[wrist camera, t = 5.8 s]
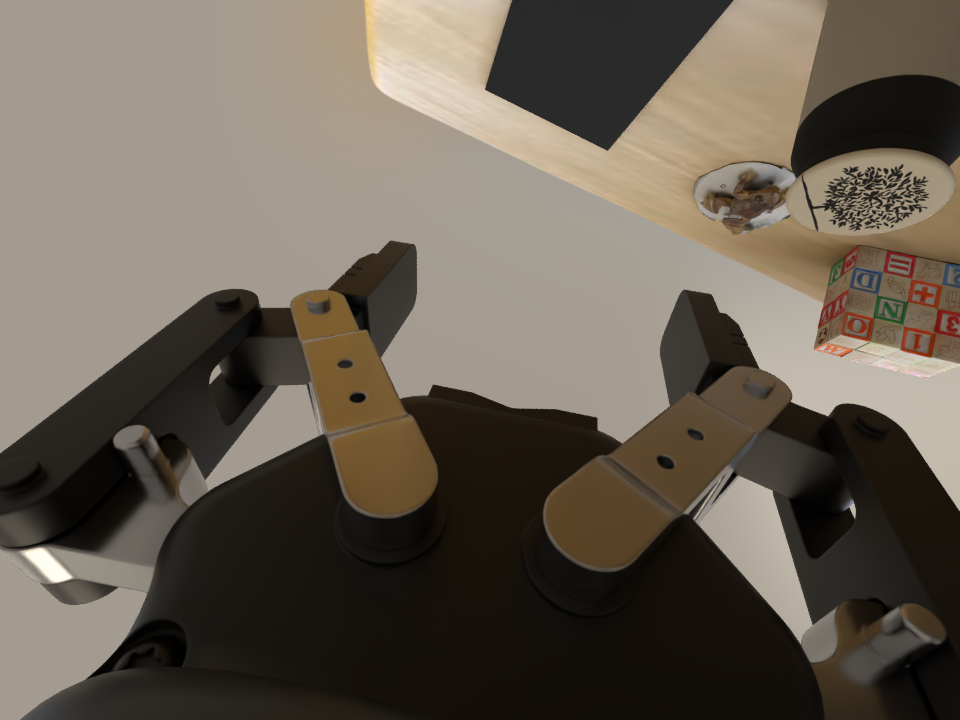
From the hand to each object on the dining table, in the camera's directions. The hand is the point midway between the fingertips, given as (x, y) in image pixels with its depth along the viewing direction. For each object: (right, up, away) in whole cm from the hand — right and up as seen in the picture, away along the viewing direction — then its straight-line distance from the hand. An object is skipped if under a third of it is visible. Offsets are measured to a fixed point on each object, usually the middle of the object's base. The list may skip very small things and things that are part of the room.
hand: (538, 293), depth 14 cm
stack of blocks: (+55, +8, +41) cm, 69 cm away
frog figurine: (+30, +18, +39) cm, 53 cm away
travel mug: (+27, +24, +16) cm, 39 cm away
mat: (+8, +28, +29) cm, 41 cm away
